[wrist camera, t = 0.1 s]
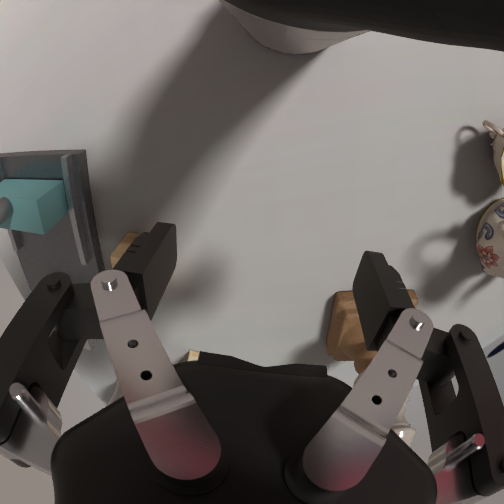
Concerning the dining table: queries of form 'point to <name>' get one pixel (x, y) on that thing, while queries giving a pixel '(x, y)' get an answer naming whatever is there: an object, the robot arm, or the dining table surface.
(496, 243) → the chinaware
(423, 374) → the robot arm
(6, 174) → the frame
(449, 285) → the dining table surface
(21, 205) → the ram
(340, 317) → the candle holder
